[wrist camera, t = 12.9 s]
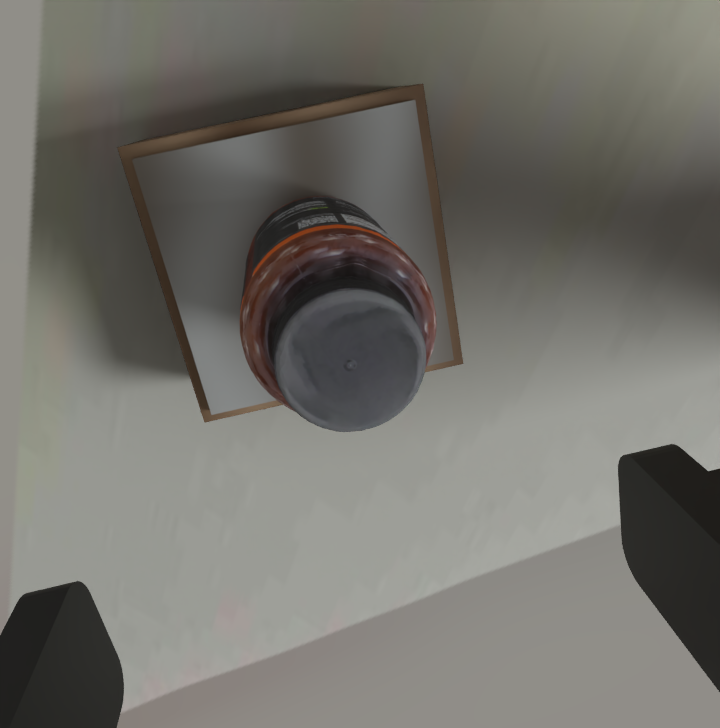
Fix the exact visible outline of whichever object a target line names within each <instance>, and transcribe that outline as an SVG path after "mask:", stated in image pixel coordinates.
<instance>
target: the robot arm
mask: <svg viewBox="0 0 720 728" xmlns="http://www.w3.org/2000/svg"><path fill="white" fill-rule="evenodd" d="M618 477H619V497H620V516H621V535H622V545H623V549H624V554H625V557H626V560H627V563H628V566H629V568H630V570H631V572H632V574H633V576H634V578H635V580H636V581H637V583H638V584H639V586H640V587H641V588H642V589H643V591H644V592H645V593H646V595H647V596H648V597H649V599H650V600H651V601H652V603H653V604H654V605H655V607H656V608H657V609H658V611H659V612H660V613H661V615H662V616H663V617H664V619H665V620H666V621H667V623H668V624H669V625H670V626H671V628H672V629H673V631H674V632H675V633H676V635H677V636H678V637H679V639H680V640H681V641H682V643H683V644H684V645H685V646H686V648H687V649H688V651H689V652H690V653H691V654H692V656H693V657H694V658H695V660H696V661H697V663H698V664H699V665H700V666H701V668H702V669H703V671H704V672H705V673H706V674H707V676H708V677H709V678H710V680H711V681H712V682H713V683H714V685H715V686H716V688H717V689H718V690H719V692H720V469H717V470H712V471H707V470H706V469H705V468H704V467H702V466H701V465H700V464H699V463H698V462H696V461H695V460H694V459H693V458H692V457H691V456H689V455H688V454H687V453H686V452H685V451H684V450H682V449H681V448H680V447H678V446H677V445H674V444H670V445H666V446H661V447H657V448H653V449H649V450H644V451H640V452H636V453H631V454H627V455H623V456H622V457H621V458H620V460H619V464H618ZM123 695H124V682H123V673H122V668H121V664H120V660H119V658H118V655H117V653H116V651H115V648H114V646H113V644H112V642H111V639H110V637H109V635H108V632H107V630H106V628H105V626H104V623H103V621H102V619H101V617H100V614H99V612H98V610H97V608H96V605H95V603H94V601H93V598H92V596H91V594H90V592H89V590H88V588H87V587H86V586H85V585H84V584H83V583H82V582H79V581H77V582H72V583H68V584H64V585H60V586H55V587H51V588H47V589H43V590H38V591H34V592H30V593H26V594H24V595H23V596H22V597H21V598H20V599H19V601H18V602H17V604H16V606H15V608H14V610H13V612H12V614H11V616H10V618H9V619H8V621H7V623H6V625H5V627H4V629H3V631H2V633H1V635H0V728H117V723H118V720H119V716H120V712H121V708H122V703H123Z"/></svg>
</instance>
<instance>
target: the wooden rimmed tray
mask: <svg viewBox="0 0 720 728" xmlns="http://www.w3.org/2000/svg"><path fill="white" fill-rule="evenodd" d="M118 151H119V154H120V158H121V161H122V164H123V167H124V170H125V173H126V177H127V180H128V183H129V186H130V189H131V192H132V195H133V199H134V202H135V205H136V208H137V211H138V214H139V217H140V221H141V224H142V227H143V230H144V233H145V236H146V240H147V243H148V246H149V249H150V252H151V255H152V258H153V262H154V265H155V268H156V271H157V274H158V277H159V281H160V284H161V287H162V290H163V293H164V296H165V299H166V303H167V306H168V309H169V312H170V315H171V318H172V321H173V325H174V328H175V331H176V334H177V337H178V340H179V344H180V347H181V350H182V353H183V356H184V359H185V362H186V366H187V369H188V372H189V375H190V378H191V381H192V384H193V388H194V391H195V394H196V397H197V400H198V403H199V407H200V410H201V413H202V416H203V419H204V422H209V421H213V420H218V419H222V418H226V417H231V416H235V415H240V414H244V413H248V412H253V411H257V410H262V409H266V408H270V407H275V406H279V405H283V404H282V403H280V402H278V401H277V400H276V399H275V398H274V397H272V396H271V395H270V394H269V393H268V392H267V391H266V390H265V389H264V388H263V387H262V386H261V384H260V383H259V382H258V381H257V379H256V377H255V376H254V374H253V373H252V371H251V369H250V367H249V365H248V363H247V360H246V358H245V354H244V350H243V347H242V342H241V337H240V308H241V299H242V293H243V284H244V276H245V266H246V259H247V255H248V252H249V248H250V246H251V243H252V240H253V238H254V236H255V234H256V232H257V230H258V229H259V227H260V226H261V225H262V224H263V222H264V221H265V220H266V219H267V218H268V217H269V216H270V215H271V214H272V213H273V212H274V211H276V210H277V209H279V208H280V207H282V206H283V205H285V204H288V203H290V202H292V201H294V200H297V199H300V198H305V197H310V196H331V197H335V198H338V199H342V200H344V201H347V202H350V203H352V204H354V205H356V206H357V207H359V208H361V209H362V210H364V211H365V212H366V213H367V214H368V215H370V216H371V217H372V218H373V219H374V220H375V221H376V222H377V223H378V224H379V225H380V226H381V227H382V228H383V230H385V232H386V233H387V234H388V235H389V236H390V237H391V238H392V239H393V240H394V241H395V242H396V243H397V244H398V245H399V246H400V248H401V249H402V250H403V251H404V252H405V253H406V254H407V255H408V256H409V257H410V258H411V259H412V260H413V262H414V263H415V264H416V265H417V267H418V268H419V269H420V271H421V272H422V274H423V276H424V277H425V280H426V282H427V284H428V286H429V288H430V290H431V294H432V297H433V300H434V305H435V310H436V321H437V327H436V337H435V341H434V348H433V351H432V354H431V357H430V360H429V362H428V364H427V367H426V369H425V372H428V371H433V370H437V369H442V368H446V367H450V366H455V365H459V364H463V359H462V352H461V345H460V338H459V331H458V324H457V317H456V310H455V303H454V296H453V289H452V282H451V275H450V268H449V261H448V254H447V247H446V240H445V233H444V226H443V219H442V212H441V205H440V198H439V191H438V184H437V177H436V170H435V163H434V156H433V149H432V142H431V135H430V128H429V121H428V114H427V107H426V100H425V93H424V86H423V84H417V85H409V86H400V87H396V88H391V89H386V90H381V91H376V92H372V93H367V94H362V95H357V96H352V97H348V98H343V99H338V100H333V101H328V102H324V103H319V104H314V105H309V106H304V107H300V108H295V109H290V110H285V111H280V112H276V113H271V114H266V115H261V116H257V117H252V118H247V119H242V120H237V121H233V122H228V123H223V124H218V125H213V126H209V127H204V128H199V129H194V130H189V131H185V132H180V133H175V134H170V135H165V136H161V137H156V138H151V139H146V140H142V141H138V142H135V143H131V144H128V145H124V146H121V147H118Z"/></svg>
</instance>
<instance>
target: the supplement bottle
mask: <svg viewBox="0 0 720 728" xmlns="http://www.w3.org/2000/svg"><path fill="white" fill-rule="evenodd" d="M436 327H437V321H436V310H435V305H434V300H433V297H432V294H431V290H430V288H429V286H428V284H427V282H426V280H425V277H424V276H423V274H422V272H421V271H420V269H419V268H418V267H417V265H416V264H415V263H414V262H413V260H412V259H411V258H410V257H409V256H408V255H407V254H406V253H405V252H404V251H403V250H402V249H401V248H400V246H399V245H398V244H397V243H396V242H395V241H394V240H393V239H392V238H391V237H390V236H389V235H388V234H387V233H386V232H385V230H383V228H382V227H381V226H380V225H379V224H378V223H377V222H376V221H375V220H374V219H373V218H372V217H371V216H370V215H368V214H367V213H366V212H365V211H364V210H362V209H361V208H359V207H357V206H356V205H354V204H352V203H350V202H347V201H344V200H342V199H338V198H335V197H331V196H310V197H305V198H300V199H297V200H294V201H292V202H290V203H288V204H285V205H283V206H282V207H280V208H279V209H277V210H276V211H274V212H273V213H272V214H271V215H270V216H269V217H268V218H267V219H266V220H265V221H264V222H263V224H262V225H261V226H260V227H259V229H258V230H257V232H256V234H255V236H254V238H253V240H252V243H251V246H250V248H249V252H248V255H247V259H246V266H245V276H244V284H243V293H242V299H241V308H240V337H241V342H242V347H243V350H244V354H245V358H246V360H247V363H248V365H249V367H250V369H251V371H252V373H253V374H254V376H255V377H256V379H257V381H258V382H259V383H260V384H261V386H262V387H263V388H264V389H265V390H266V391H267V392H268V393H269V394H270V395H271V396H272V397H274V398H275V399H276V400H277V401H278V402H280V403H282V404H283V405H285V406H286V407H288V408H289V409H291V410H293V411H295V412H297V413H298V414H299V415H300V416H301V417H303V418H305V419H306V420H307V421H309V422H311V423H313V424H315V425H317V426H320V427H322V428H325V429H329V430H333V431H339V432H351V431H362V430H365V429H369V428H373V427H376V426H379V425H381V424H383V423H385V422H387V421H389V420H390V419H392V418H393V417H395V416H396V415H397V414H399V413H400V412H401V411H402V410H403V409H404V408H405V407H406V406H407V405H408V404H409V403H410V402H411V400H412V399H413V397H414V396H415V394H416V393H417V391H418V389H419V386H420V384H421V382H422V379H423V376H424V373H425V369H426V367H427V364H428V362H429V360H430V357H431V354H432V351H433V348H434V341H435V337H436Z"/></svg>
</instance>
